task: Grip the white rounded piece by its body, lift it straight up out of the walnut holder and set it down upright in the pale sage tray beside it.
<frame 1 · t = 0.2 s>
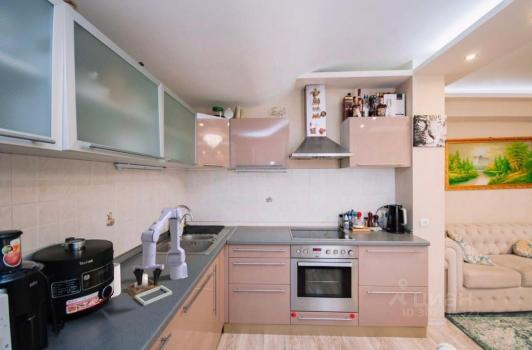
hand: (147, 285, 113), 10 cm above the countertop, tool pointing down, fingers open, 7 cm apart
holder: (142, 290, 130), on the countertop
cup: (111, 296, 125), on the countertop
white rounded piece: (142, 288, 130), point 1 cm above the countertop, touching holder
tray: (153, 297, 122), on the countertop
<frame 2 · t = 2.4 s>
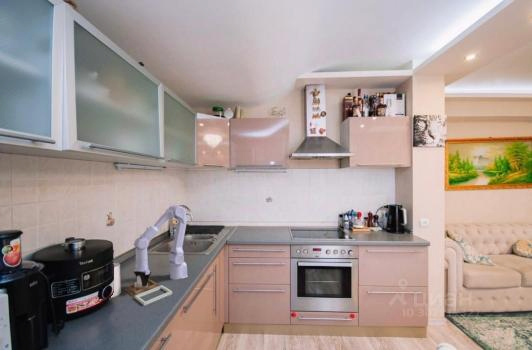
hand: (142, 284, 130), 3 cm above the countertop, tool pointing down, fingers closed on white rounded piece, 5 cm apart
white rounded piece: (142, 288, 130), point 1 cm above the countertop, touching gripper, holder
everything else where it was.
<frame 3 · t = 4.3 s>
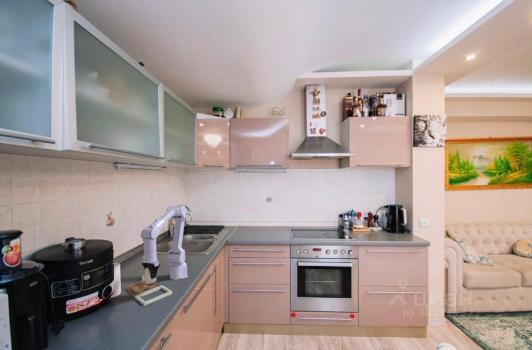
hand: (151, 276, 123), 10 cm above the countertop, tool pointing down, fingers closed on white rounded piece, 5 cm apart
white rounded piece: (150, 281, 123), point 8 cm above the countertop, touching gripper
everything else where it was.
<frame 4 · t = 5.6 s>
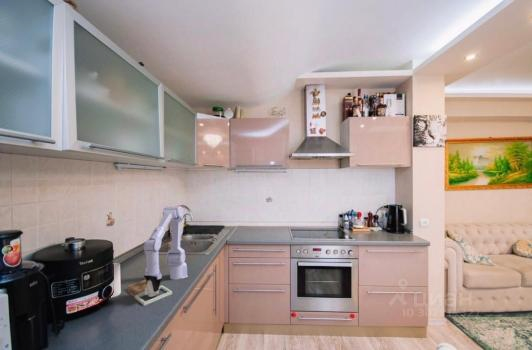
hand: (153, 289, 121), 4 cm above the countertop, tool pointing down, fingers closed on white rounded piece, 5 cm apart
white rounded piece: (153, 294, 121), point 2 cm above the countertop, touching gripper
everything else where it was.
when the fingers open (4 cm above the countertop, at t = 6.6 s): white rounded piece stays where it is, resting on tray.
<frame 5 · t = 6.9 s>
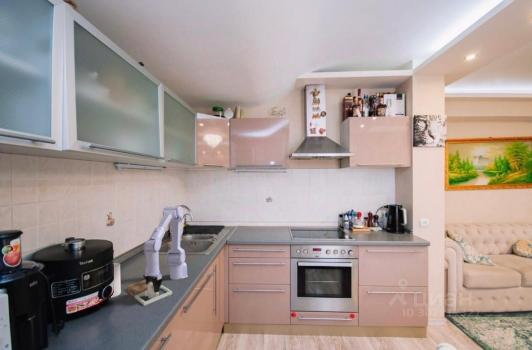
hand: (153, 289, 122), 4 cm above the countertop, tool pointing down, fingers open, 7 cm apart
white rounded piece: (153, 296, 121), point 1 cm above the countertop, touching tray
everything else where it was.
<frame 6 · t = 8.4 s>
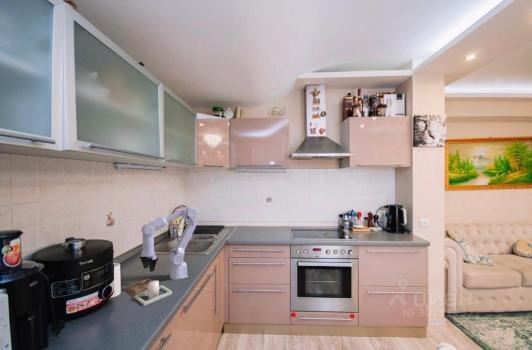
hand: (149, 269, 135), 9 cm above the countertop, tool pointing down, fingers open, 7 cm apart
nothing on the countertop moved.
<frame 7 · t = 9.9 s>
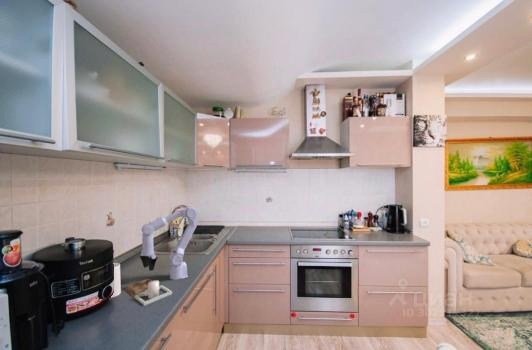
hand: (148, 268, 136), 9 cm above the countertop, tool pointing down, fingers open, 7 cm apart
nothing on the countertop moved.
at the end: white rounded piece 0.1 cm off-centre on the tray, point 0.9 cm above the tray's base; white rounded piece tilted 2°; the gripper is holding nothing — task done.
